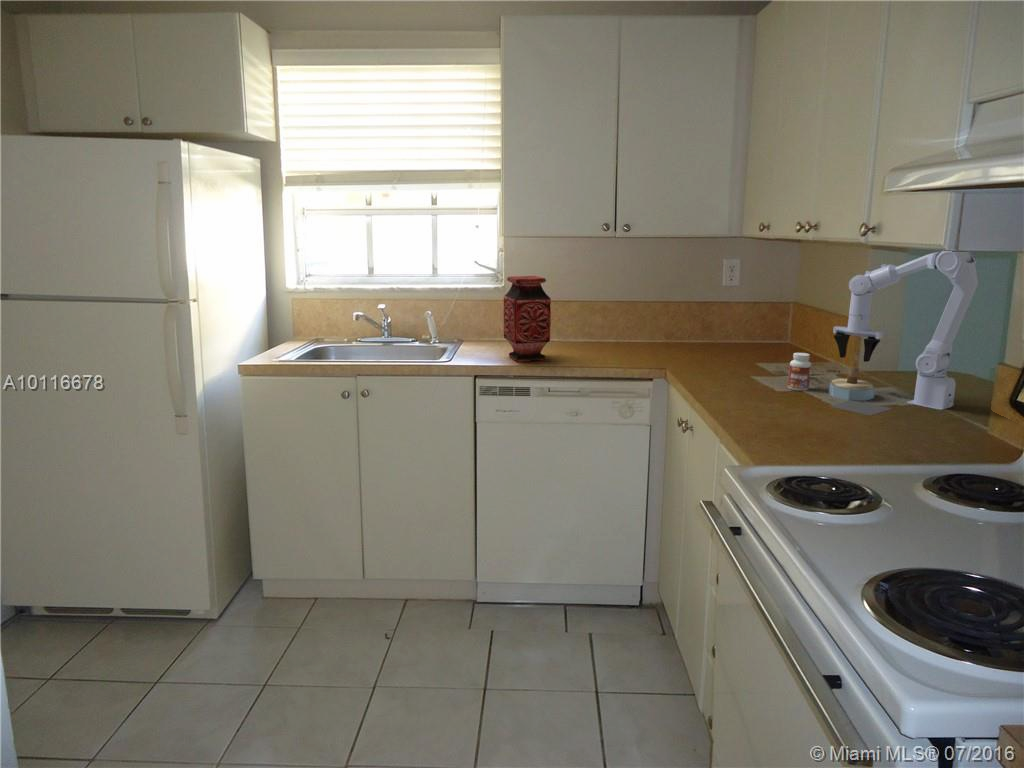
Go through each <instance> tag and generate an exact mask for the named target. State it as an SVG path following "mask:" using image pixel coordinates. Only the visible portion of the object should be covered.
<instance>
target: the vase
mask: <svg viewBox="0 0 1024 768" xmlns="http://www.w3.org/2000/svg"><path fill="white" fill-rule="evenodd" d="M506 279H507V281H508V282H509V283H511V286H510V288H509V290H508V291H507V292H506V294H504V295H503V338H504V339H505V340H507V343H509V345H511V347H512V350H513V351H511V352H509V353H508V357H510V358H511V359H512V360H514V361H515V360H516V361H515V362H517V363H518V362H519V363H521V362H522V363H524V362H523V361H526V362H533V361H532V360H534V361H544V359H545V360H546V356H545V355H544V354H543V353H542V350H543V349H544V347H545V346H546V345H547V344H548V343H549V342H551V325H552V324H551V309H552V307H551V302H552V299H551V297H550V296H549V295H548V294H547V293H546V291H545V290H544V288H543V286H542V284H543V283H546V281H547V279H546V278H545V277H541V276H536V275H523V276H522V275H521V276H518V275H517V276H512V275H511V276H508V277H507V278H506Z"/></svg>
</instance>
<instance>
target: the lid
mask: <svg viewBox="0 0 1024 768" xmlns="http://www.w3.org/2000/svg"><path fill="white" fill-rule="evenodd" d="M858 377H859V368H855V367H850V368H849V367H848V369H847V377H846V378H835V379H832V380H831V382H832V385H833V386H836V387H839V388H844V389H852V390H867V389H871V388H872V386H873V383H871V381H867V380H861V379H858Z"/></svg>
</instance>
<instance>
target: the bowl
mask: <svg viewBox="0 0 1024 768" xmlns="http://www.w3.org/2000/svg"><path fill="white" fill-rule="evenodd" d="M875 390H876V387H874V385H872V388H871V389H867V390H852V389H844V388H839V387H836V386H833V385H832V381H831V382H829V388H828V394H829V395H830V396H832V397H833V398H838V399H841V400H845V401H849V400H854V401H860V402H863V401H869V400H872V399H874V398H875V392H876V391H875Z"/></svg>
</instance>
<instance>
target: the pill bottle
mask: <svg viewBox="0 0 1024 768" xmlns="http://www.w3.org/2000/svg"><path fill="white" fill-rule="evenodd" d="M810 355H811V354H809V353H806V352H794V353H793V355H792V358H793V359H792V360H791V361H790V362H789V369H788V378H787V379H788V382H787V387H788V389H789V390H792V391H798V392H800V391H802V392H803V391H808V390H809V389H810V380H811V371H812V362H811V361H809V360H810Z"/></svg>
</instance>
